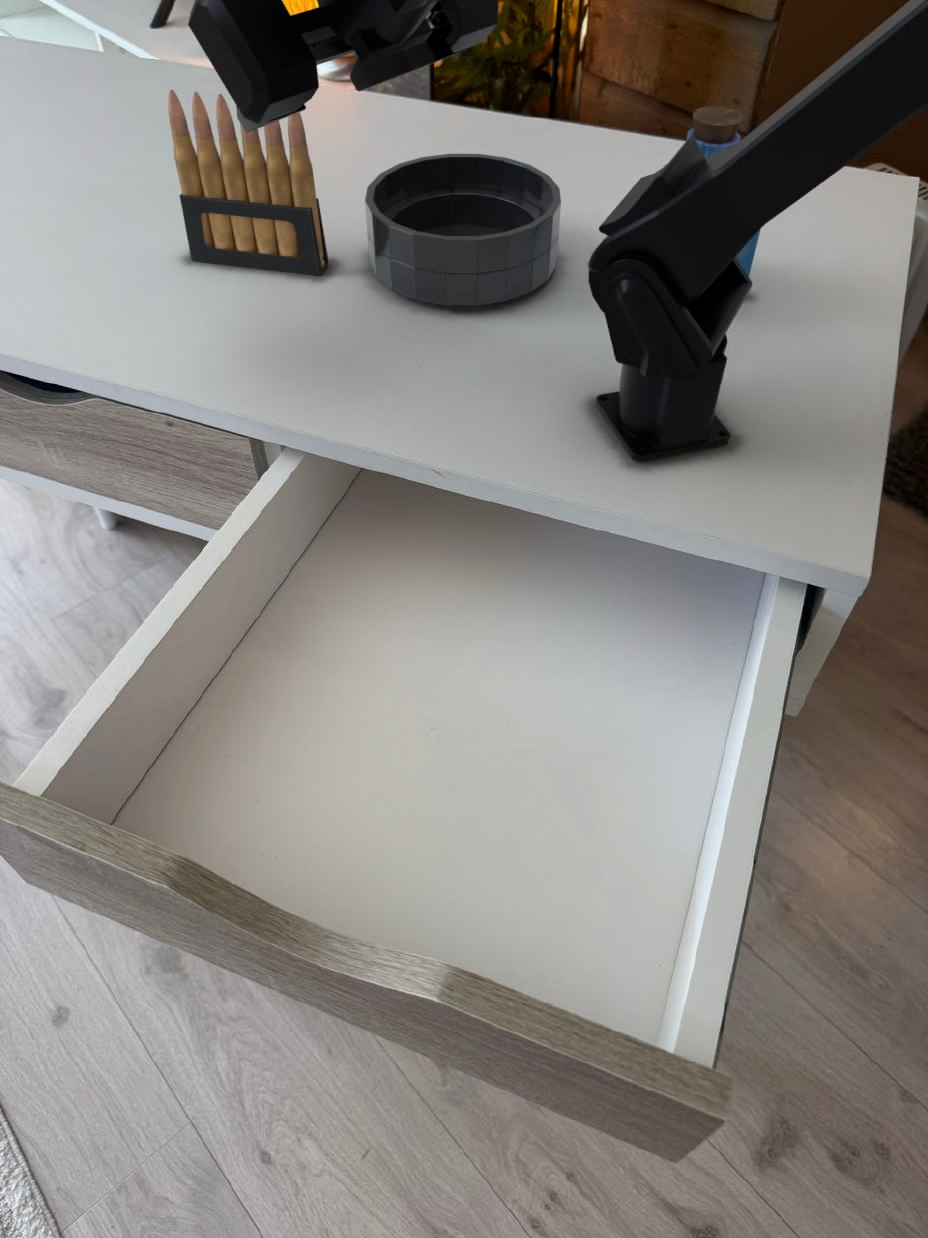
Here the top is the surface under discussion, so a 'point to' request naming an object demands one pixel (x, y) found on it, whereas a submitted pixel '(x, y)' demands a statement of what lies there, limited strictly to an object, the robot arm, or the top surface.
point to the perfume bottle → (715, 135)
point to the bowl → (463, 228)
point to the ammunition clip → (247, 193)
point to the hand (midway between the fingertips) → (301, 103)
